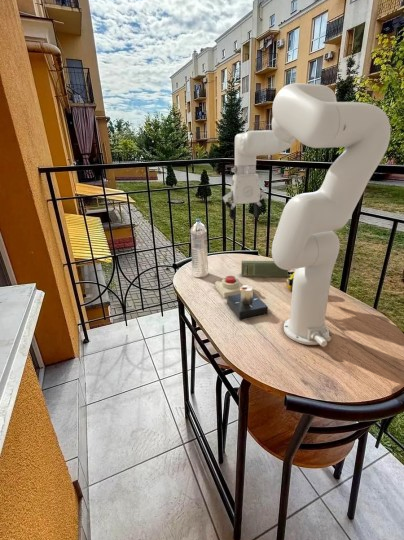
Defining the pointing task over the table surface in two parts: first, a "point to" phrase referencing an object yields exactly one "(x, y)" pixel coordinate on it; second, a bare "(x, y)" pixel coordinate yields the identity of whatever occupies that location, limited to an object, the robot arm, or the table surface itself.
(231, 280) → the button
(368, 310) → the table surface
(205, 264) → the water bottle
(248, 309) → the control panel
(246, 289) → the knob
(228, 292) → the button box
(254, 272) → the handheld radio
